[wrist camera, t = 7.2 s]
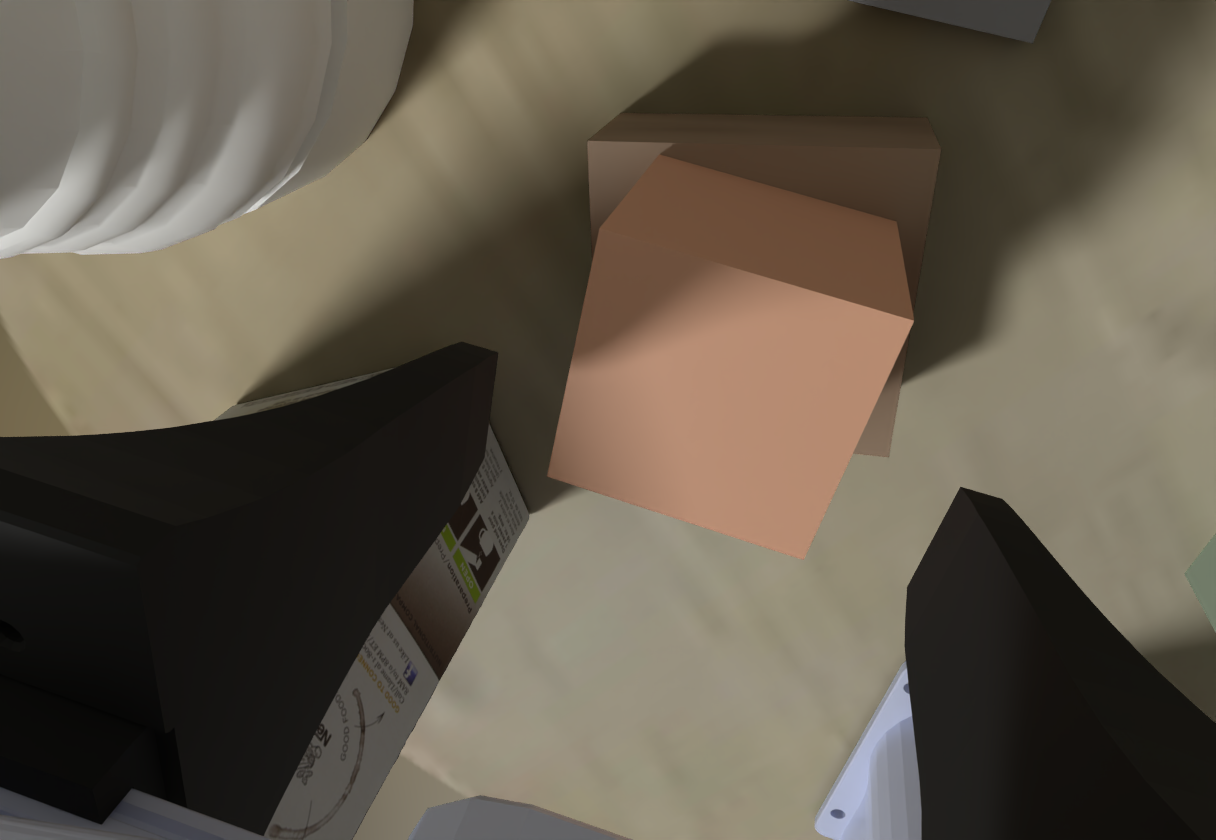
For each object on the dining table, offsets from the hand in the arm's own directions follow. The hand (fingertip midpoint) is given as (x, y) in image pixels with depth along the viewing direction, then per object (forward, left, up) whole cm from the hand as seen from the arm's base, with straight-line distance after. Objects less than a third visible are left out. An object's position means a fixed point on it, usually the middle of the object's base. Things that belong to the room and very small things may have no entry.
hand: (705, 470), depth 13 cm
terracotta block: (0, 0, -7) cm, 7 cm away
